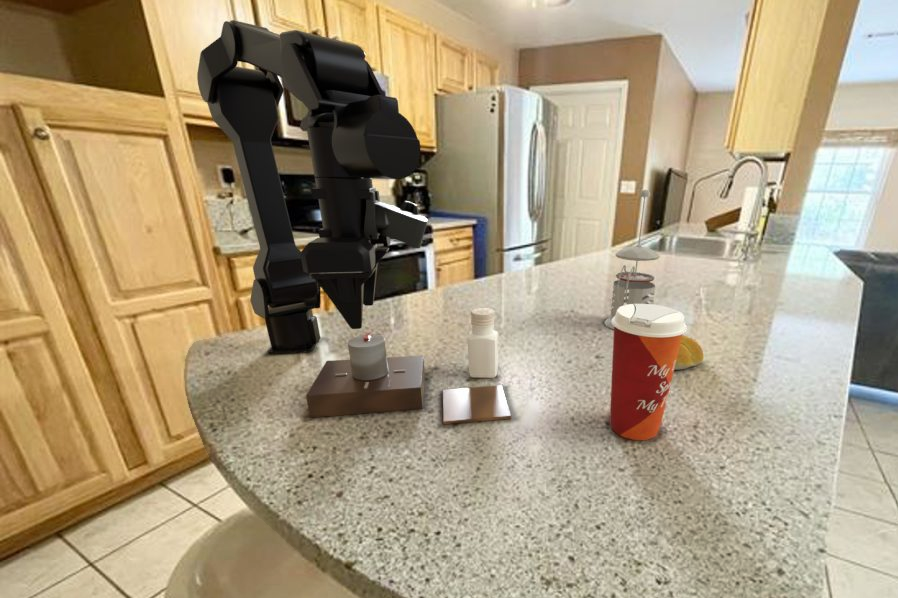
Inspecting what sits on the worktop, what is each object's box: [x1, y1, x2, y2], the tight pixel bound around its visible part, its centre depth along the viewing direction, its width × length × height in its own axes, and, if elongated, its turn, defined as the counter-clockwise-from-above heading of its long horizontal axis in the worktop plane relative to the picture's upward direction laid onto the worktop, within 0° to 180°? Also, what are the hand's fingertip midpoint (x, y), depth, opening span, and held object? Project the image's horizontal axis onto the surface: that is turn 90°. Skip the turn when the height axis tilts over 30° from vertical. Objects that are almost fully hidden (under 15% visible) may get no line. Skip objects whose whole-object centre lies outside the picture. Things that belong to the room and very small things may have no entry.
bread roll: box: [674, 335, 704, 371], centre depth 67 cm, size 8×9×4 cm
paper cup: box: [609, 303, 688, 441], centre depth 46 cm, size 8×8×14 cm
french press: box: [604, 189, 661, 330], centre depth 78 cm, size 10×12×25 cm
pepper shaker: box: [467, 307, 499, 379], centre depth 60 cm, size 4×4×10 cm
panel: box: [305, 354, 426, 419], centre depth 55 cm, size 13×10×3 cm
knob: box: [346, 332, 388, 380], centre depth 53 cm, size 4×4×5 cm
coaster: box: [442, 385, 512, 425], centre depth 53 cm, size 8×8×1 cm
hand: (363, 315), depth 51 cm, fingers open, 9 cm apart
